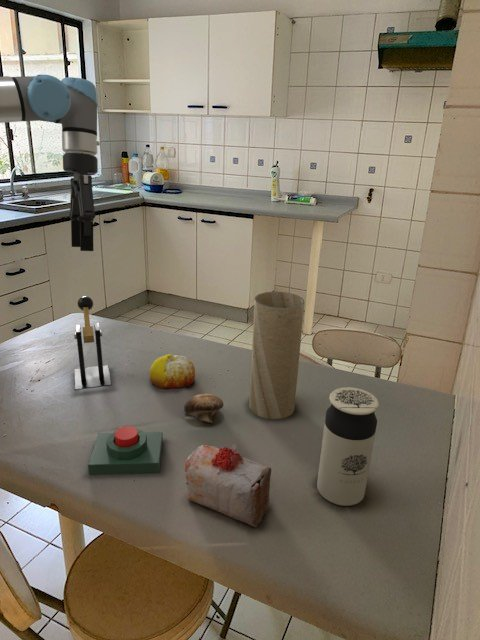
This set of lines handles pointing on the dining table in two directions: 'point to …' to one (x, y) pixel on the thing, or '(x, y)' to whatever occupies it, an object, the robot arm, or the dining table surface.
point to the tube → (275, 353)
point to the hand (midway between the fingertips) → (81, 249)
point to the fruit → (172, 372)
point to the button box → (126, 454)
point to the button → (126, 436)
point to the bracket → (91, 375)
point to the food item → (228, 483)
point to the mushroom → (203, 406)
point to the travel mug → (347, 445)
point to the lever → (86, 318)
